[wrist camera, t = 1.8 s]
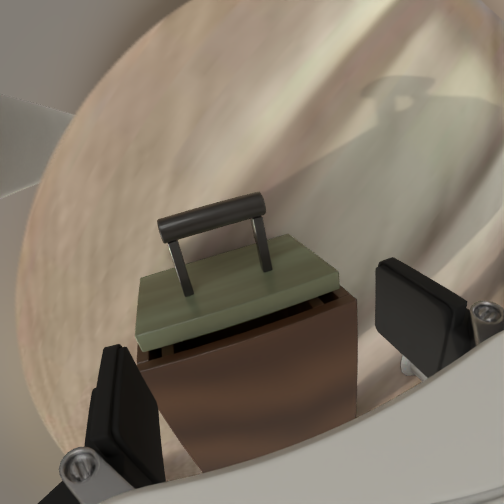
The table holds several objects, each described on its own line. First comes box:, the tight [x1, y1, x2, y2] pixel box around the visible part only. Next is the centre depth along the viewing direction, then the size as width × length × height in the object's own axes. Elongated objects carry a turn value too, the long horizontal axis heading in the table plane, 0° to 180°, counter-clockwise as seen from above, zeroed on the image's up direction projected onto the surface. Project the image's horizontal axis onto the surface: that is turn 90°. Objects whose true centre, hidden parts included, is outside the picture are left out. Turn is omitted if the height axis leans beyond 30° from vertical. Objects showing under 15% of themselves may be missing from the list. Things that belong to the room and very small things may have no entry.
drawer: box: [135, 192, 340, 357], centre depth 22 cm, size 18×12×8 cm, turn 12°
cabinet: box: [137, 286, 358, 473], centre depth 24 cm, size 15×13×10 cm
